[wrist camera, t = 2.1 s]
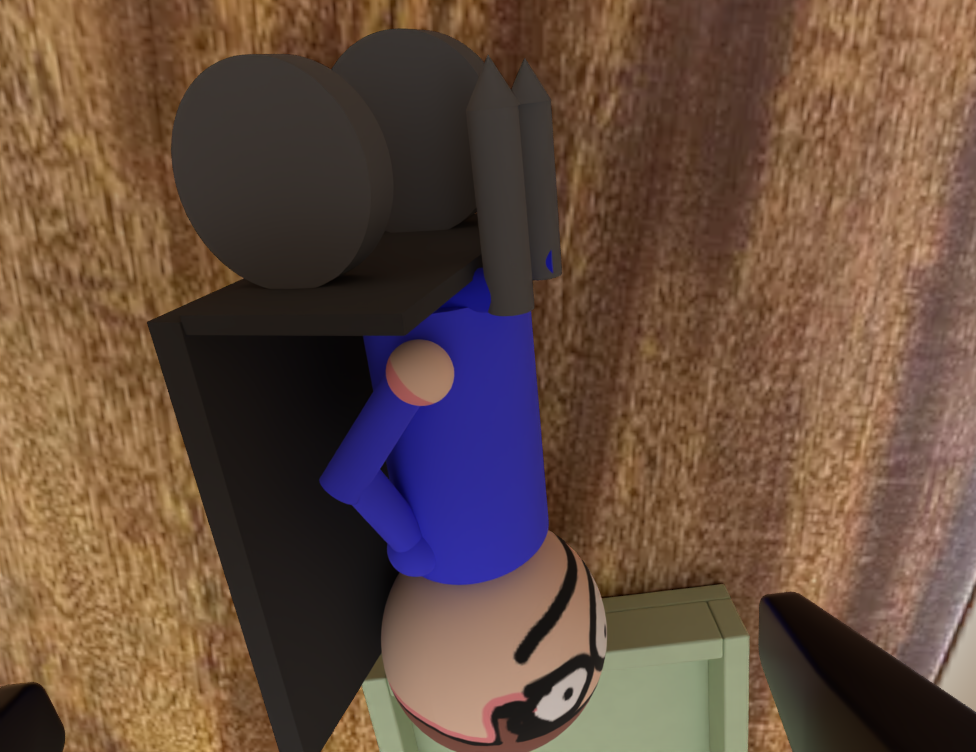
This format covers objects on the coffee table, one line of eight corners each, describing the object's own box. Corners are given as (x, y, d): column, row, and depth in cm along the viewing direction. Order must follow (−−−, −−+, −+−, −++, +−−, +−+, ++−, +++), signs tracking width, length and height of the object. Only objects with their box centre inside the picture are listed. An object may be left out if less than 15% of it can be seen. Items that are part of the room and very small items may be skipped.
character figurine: (548, 23, 15) (571, 586, 21) (200, 52, 14) (324, 618, 20) (673, -29, 8) (654, 853, 14) (-11, 26, 7) (276, 911, 13)
